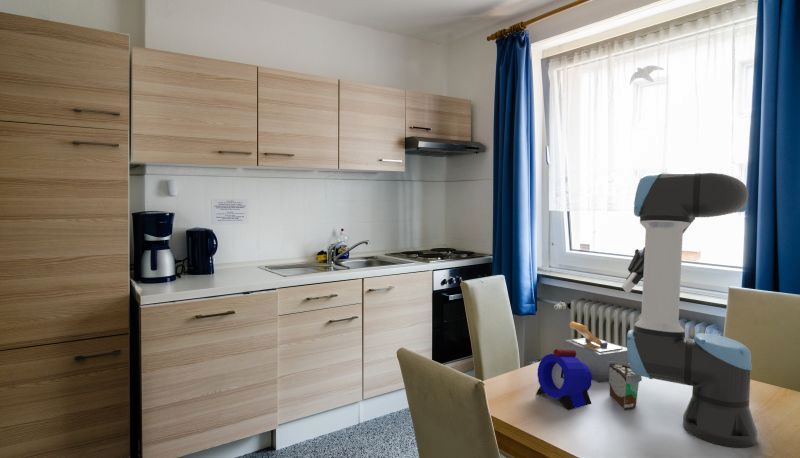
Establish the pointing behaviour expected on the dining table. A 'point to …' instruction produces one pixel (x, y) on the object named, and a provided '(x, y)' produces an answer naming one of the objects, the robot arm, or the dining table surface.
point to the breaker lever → (585, 332)
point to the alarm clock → (565, 378)
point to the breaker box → (597, 356)
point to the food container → (623, 385)
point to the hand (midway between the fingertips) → (625, 289)
